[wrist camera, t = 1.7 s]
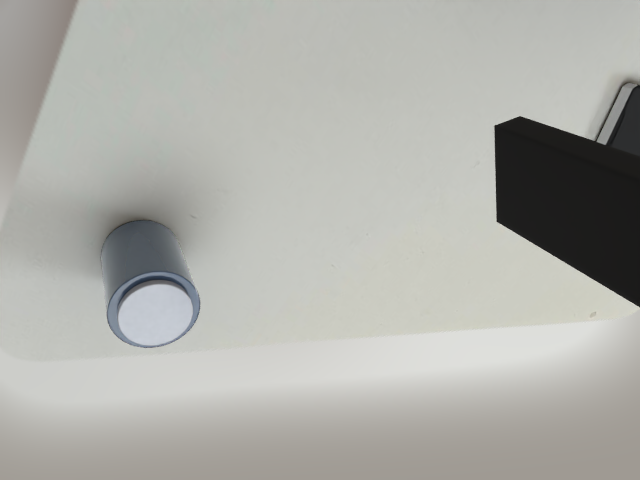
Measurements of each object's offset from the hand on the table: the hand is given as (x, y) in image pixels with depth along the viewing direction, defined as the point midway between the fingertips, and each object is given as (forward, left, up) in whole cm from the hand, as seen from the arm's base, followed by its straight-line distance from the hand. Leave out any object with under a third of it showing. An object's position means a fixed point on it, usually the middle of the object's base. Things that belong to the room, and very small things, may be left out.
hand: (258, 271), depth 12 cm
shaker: (-2, -11, -23) cm, 26 cm away
